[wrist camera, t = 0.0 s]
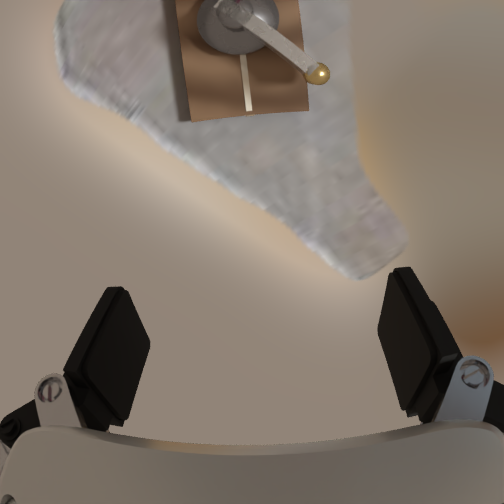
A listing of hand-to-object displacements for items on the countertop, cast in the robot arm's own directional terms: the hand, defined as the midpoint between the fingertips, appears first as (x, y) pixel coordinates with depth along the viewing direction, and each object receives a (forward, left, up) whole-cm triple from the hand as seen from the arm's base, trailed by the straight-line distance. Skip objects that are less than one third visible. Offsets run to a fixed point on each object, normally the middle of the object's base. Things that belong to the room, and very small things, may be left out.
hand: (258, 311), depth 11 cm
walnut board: (-13, -1, -31) cm, 34 cm away
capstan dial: (-12, +2, -29) cm, 32 cm away
